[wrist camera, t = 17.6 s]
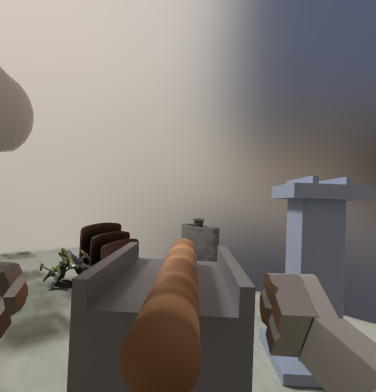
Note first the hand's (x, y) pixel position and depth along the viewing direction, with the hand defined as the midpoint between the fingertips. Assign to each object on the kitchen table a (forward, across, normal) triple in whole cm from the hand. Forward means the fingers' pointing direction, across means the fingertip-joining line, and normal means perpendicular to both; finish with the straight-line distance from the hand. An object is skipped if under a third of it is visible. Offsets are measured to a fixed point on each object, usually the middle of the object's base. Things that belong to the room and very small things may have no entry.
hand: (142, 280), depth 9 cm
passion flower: (+42, +30, +47) cm, 70 cm away
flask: (+51, -4, +53) cm, 74 cm away
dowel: (+9, -1, +9) cm, 12 cm away
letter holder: (+64, +27, +60) cm, 91 cm away
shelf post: (+17, -20, +33) cm, 42 cm away
